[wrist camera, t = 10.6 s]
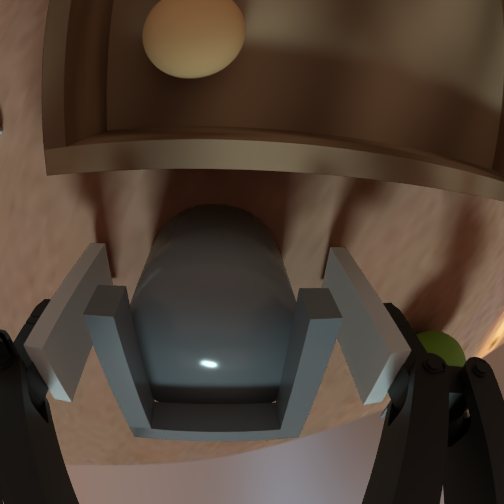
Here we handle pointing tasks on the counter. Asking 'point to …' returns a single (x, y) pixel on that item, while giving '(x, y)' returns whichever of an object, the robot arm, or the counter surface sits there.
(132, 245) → the counter surface
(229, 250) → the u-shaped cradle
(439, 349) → the snail figurine
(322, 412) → the counter surface
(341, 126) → the tray
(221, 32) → the ball
